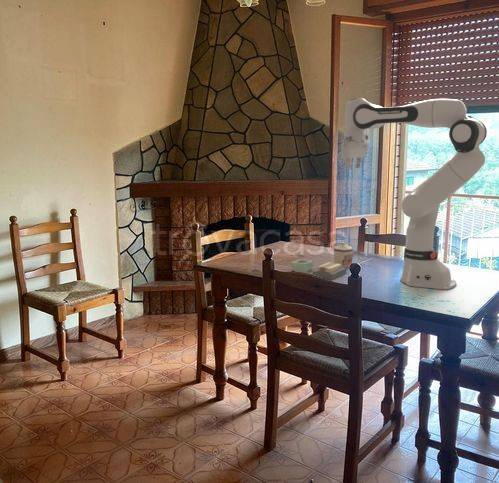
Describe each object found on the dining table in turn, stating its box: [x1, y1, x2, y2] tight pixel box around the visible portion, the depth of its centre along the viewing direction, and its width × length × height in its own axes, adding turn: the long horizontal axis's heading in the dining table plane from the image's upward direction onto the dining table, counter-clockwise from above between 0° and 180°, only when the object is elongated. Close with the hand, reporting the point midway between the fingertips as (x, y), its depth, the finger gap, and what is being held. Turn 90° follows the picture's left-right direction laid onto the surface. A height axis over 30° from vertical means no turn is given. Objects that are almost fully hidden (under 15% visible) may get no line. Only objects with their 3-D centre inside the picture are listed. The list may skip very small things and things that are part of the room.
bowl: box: [291, 258, 314, 274], centre depth 242 cm, size 7×7×4 cm
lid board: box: [317, 261, 341, 273], centre depth 234 cm, size 6×10×2 cm, turn 144°
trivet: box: [312, 268, 347, 281], centre depth 235 cm, size 10×13×2 cm
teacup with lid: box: [333, 241, 355, 269], centre depth 250 cm, size 12×9×12 cm
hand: (353, 168), depth 232 cm, fingers open, 8 cm apart
